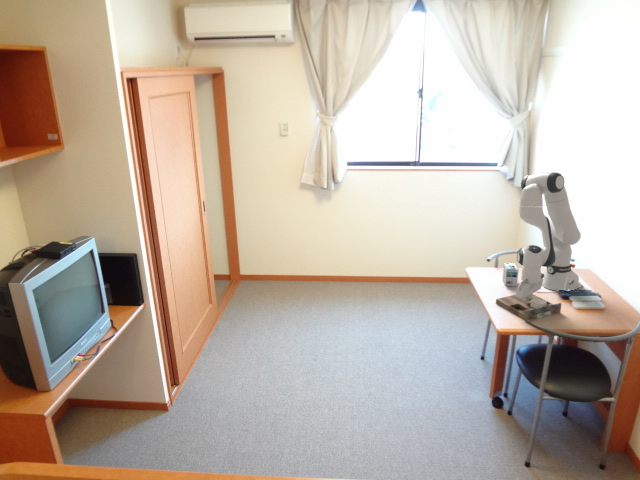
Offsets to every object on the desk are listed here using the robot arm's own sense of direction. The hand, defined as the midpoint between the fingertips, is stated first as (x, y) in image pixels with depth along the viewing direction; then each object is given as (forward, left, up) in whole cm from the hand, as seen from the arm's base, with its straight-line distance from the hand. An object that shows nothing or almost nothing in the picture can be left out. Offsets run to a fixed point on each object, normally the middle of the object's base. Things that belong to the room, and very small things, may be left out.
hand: (527, 301), depth 248 cm
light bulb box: (-15, -29, -4) cm, 32 cm away
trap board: (0, 0, -4) cm, 4 cm away
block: (-1, +6, -1) cm, 6 cm away
